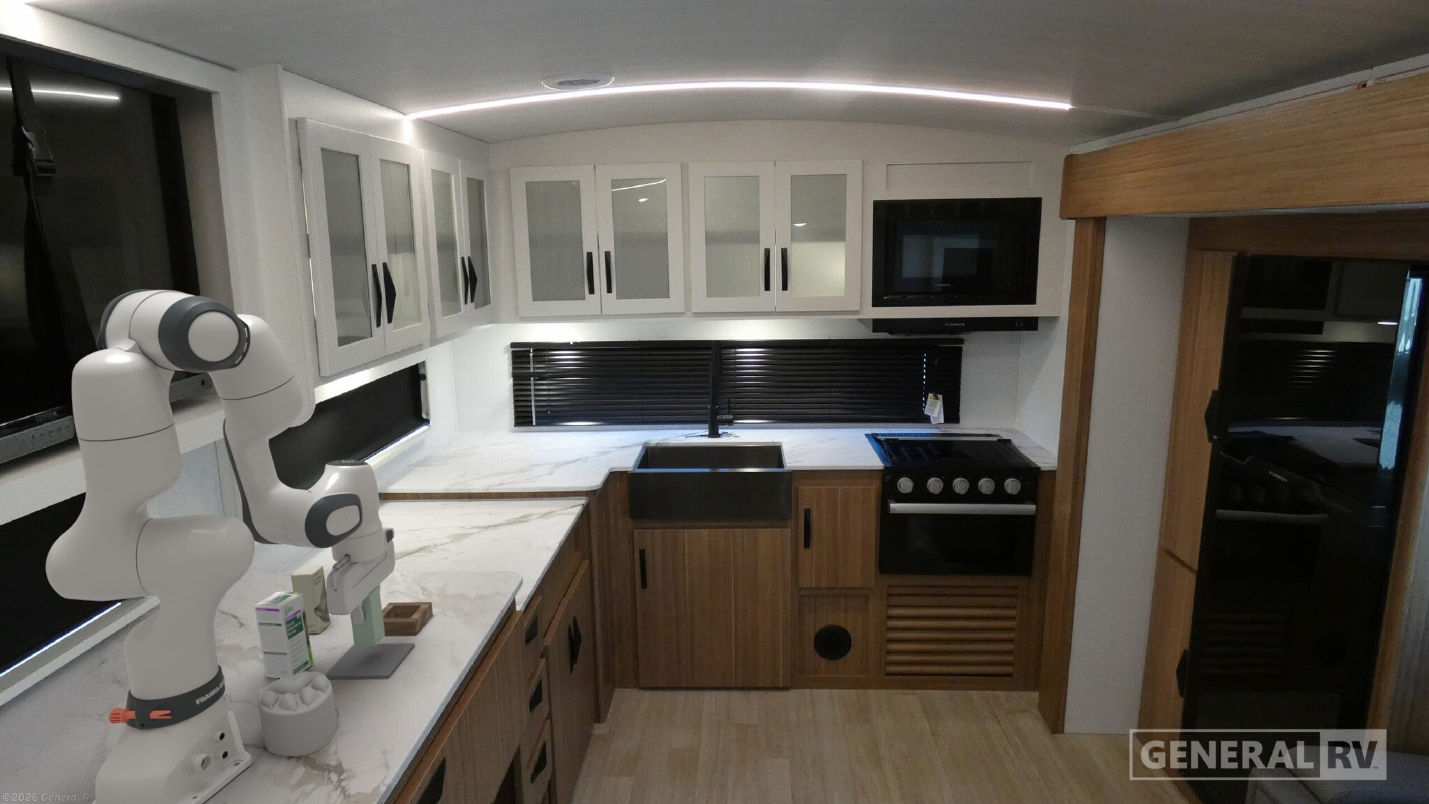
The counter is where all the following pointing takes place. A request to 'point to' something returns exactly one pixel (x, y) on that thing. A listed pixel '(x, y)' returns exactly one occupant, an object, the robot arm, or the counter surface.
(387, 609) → the block
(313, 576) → the box
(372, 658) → the mat
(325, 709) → the lumpy-topped squat cylinder
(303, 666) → the syrup box
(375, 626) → the peg
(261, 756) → the counter surface
